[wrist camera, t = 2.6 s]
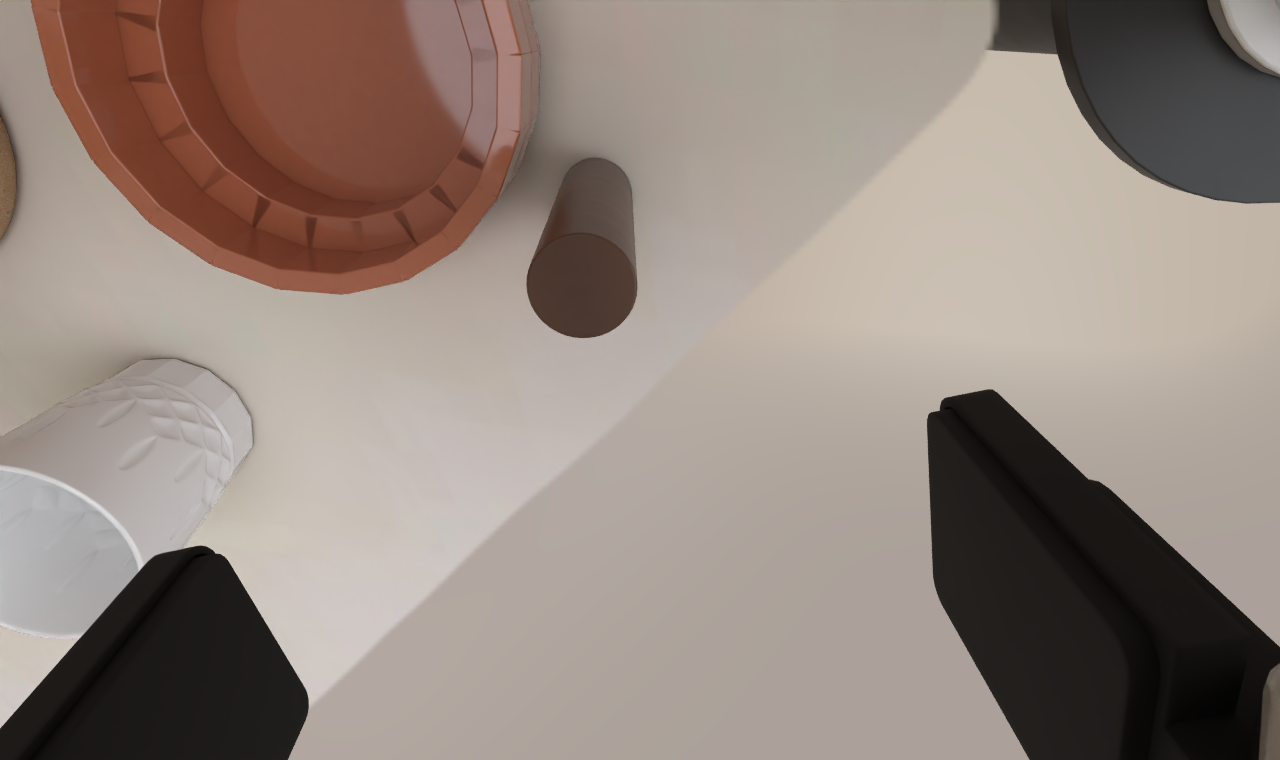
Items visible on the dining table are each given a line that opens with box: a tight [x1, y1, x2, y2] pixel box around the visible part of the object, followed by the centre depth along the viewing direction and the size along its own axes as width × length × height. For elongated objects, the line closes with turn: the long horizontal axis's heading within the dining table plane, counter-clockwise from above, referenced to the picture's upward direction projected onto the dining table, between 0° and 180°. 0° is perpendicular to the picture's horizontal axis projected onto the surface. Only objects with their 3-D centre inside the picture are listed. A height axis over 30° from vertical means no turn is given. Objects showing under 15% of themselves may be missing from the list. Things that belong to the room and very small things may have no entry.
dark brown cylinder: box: [527, 158, 637, 338], centre depth 25 cm, size 3×3×12 cm
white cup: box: [0, 359, 253, 639], centre depth 30 cm, size 8×8×10 cm
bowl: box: [31, 0, 540, 295], centre depth 25 cm, size 15×15×6 cm
